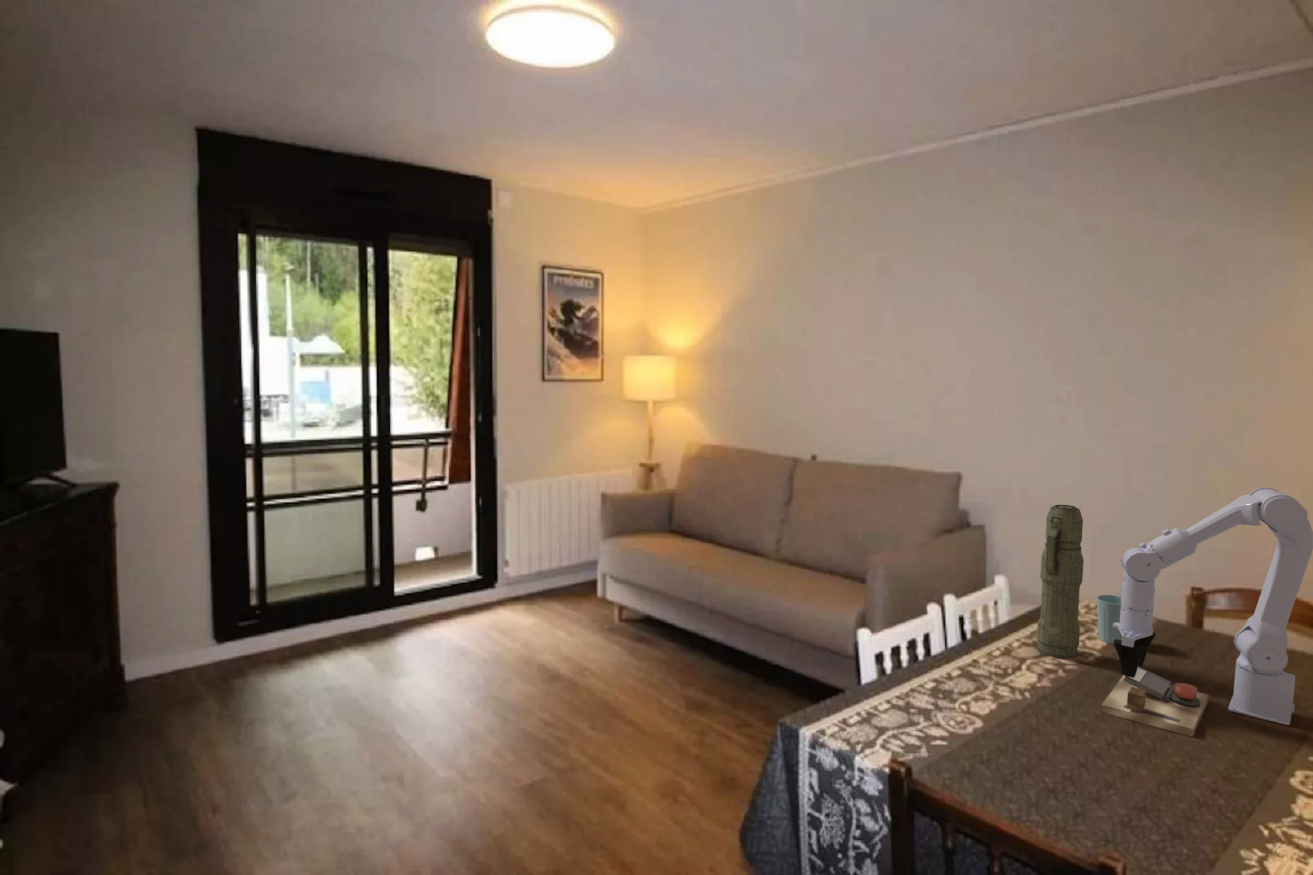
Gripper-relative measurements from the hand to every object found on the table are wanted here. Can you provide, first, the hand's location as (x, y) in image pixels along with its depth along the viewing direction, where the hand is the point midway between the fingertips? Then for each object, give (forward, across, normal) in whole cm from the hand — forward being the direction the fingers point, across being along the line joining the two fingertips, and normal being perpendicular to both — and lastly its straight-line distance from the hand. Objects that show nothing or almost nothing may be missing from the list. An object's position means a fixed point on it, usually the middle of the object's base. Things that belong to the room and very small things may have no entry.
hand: (1132, 670), depth 161 cm
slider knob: (+3, +12, +3) cm, 13 cm away
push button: (+2, +2, +10) cm, 10 cm away
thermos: (+5, -14, -18) cm, 23 cm away
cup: (+5, -31, -10) cm, 33 cm away
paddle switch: (+2, 0, +3) cm, 3 cm away
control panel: (+5, +4, +5) cm, 8 cm away
